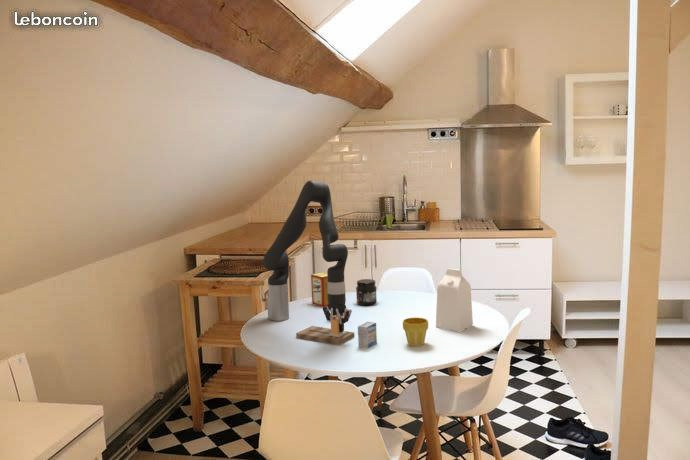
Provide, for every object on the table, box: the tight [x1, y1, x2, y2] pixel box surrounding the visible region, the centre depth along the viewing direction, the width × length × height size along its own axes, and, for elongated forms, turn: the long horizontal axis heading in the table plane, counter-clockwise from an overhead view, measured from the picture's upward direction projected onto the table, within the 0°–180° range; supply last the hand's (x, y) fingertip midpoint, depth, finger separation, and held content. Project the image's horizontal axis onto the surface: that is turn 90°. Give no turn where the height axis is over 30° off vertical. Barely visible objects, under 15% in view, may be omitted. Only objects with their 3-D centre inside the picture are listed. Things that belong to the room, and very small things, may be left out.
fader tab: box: [329, 317, 347, 337], centre depth 257 cm, size 5×6×7 cm
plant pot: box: [402, 316, 429, 347], centre depth 248 cm, size 10×10×10 cm
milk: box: [435, 267, 474, 332], centre depth 269 cm, size 12×12×26 cm
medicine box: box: [357, 321, 378, 349], centre depth 249 cm, size 8×4×9 cm, turn 148°
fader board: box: [295, 325, 355, 346], centre depth 261 cm, size 22×12×2 cm, turn 58°
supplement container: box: [355, 278, 378, 307], centre depth 313 cm, size 10×10×12 cm
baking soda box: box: [310, 272, 328, 308], centre depth 314 cm, size 10×6×16 cm
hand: (337, 331), depth 257 cm, fingers closed on fader tab, 3 cm apart
